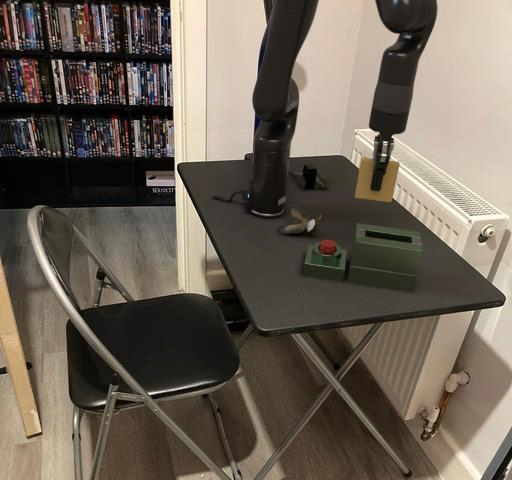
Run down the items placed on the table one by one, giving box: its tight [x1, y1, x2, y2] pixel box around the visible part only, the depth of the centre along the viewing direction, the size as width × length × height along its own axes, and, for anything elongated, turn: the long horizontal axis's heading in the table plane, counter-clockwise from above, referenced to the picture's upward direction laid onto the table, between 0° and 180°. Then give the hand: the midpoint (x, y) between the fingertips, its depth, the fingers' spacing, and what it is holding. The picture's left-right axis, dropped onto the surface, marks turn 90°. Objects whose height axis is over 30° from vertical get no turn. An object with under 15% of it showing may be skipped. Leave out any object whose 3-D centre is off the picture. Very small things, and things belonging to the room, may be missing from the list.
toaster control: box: [302, 241, 348, 282], centre depth 129 cm, size 9×9×5 cm
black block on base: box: [291, 163, 327, 191], centre depth 168 cm, size 12×7×5 cm, turn 14°
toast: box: [354, 157, 401, 203], centre depth 123 cm, size 8×2×8 cm, turn 81°
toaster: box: [347, 222, 423, 292], centre depth 126 cm, size 14×9×10 cm, turn 80°
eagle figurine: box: [279, 203, 323, 238], centre depth 141 cm, size 8×7×9 cm
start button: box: [319, 238, 337, 253], centre depth 127 cm, size 4×4×2 cm
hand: (375, 188), depth 124 cm, fingers closed on toast, 1 cm apart
